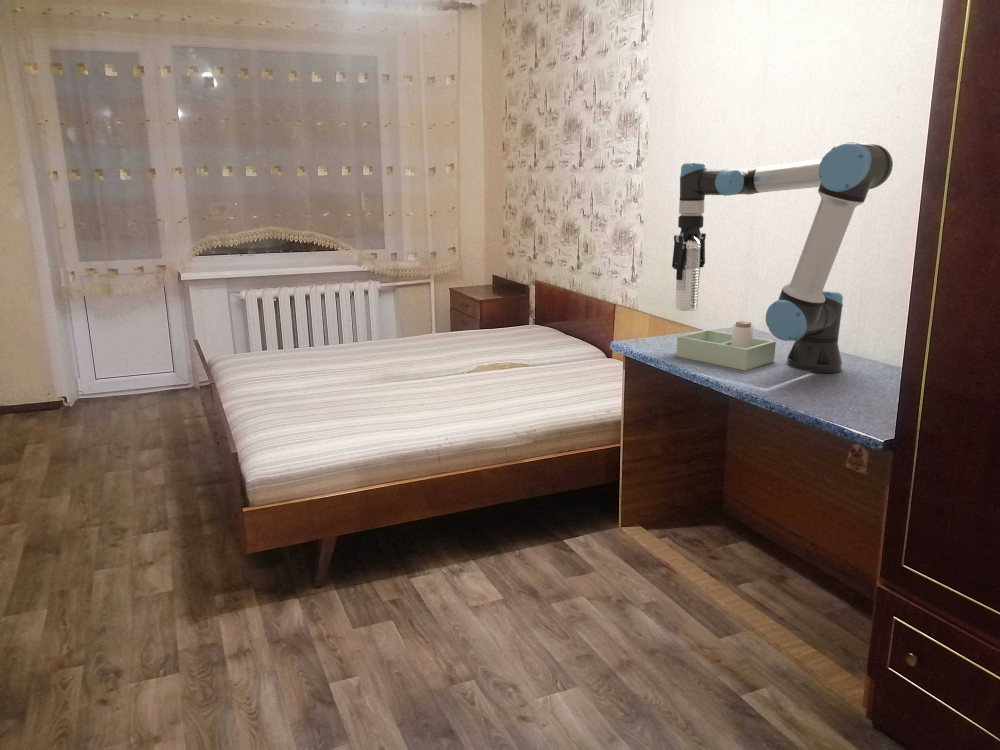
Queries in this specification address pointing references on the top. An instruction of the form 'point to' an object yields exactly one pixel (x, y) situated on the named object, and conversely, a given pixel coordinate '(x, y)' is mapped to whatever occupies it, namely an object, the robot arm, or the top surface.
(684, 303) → the water bottle
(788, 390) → the top surface
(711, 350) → the tote
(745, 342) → the jar
